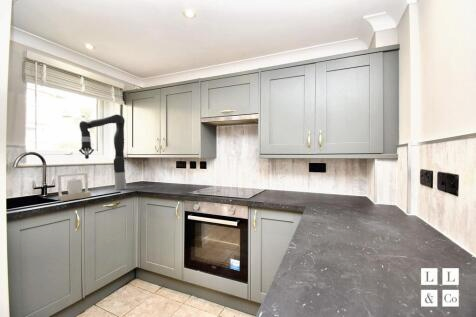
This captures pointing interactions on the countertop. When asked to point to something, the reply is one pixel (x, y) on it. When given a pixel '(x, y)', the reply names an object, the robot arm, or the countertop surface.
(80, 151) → the robot arm
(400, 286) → the countertop surface
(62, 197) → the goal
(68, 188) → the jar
